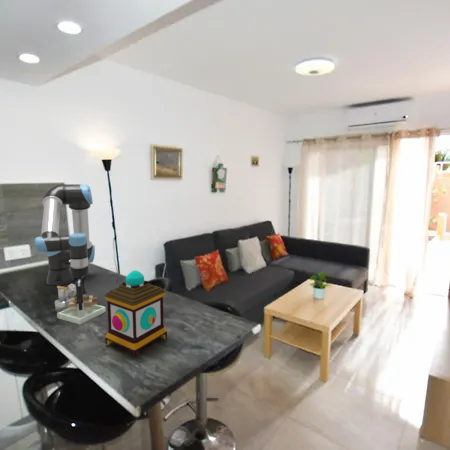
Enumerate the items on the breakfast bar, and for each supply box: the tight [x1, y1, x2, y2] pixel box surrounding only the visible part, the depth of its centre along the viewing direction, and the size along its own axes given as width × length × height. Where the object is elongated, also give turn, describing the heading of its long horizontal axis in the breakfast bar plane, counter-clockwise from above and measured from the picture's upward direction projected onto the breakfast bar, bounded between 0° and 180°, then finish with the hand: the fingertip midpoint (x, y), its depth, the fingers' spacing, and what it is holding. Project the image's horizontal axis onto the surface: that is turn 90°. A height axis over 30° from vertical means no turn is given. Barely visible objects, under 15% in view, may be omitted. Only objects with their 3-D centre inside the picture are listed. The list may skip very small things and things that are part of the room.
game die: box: [65, 282, 77, 298], centre depth 163 cm, size 9×8×10 cm
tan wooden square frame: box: [69, 294, 98, 311], centre depth 142 cm, size 10×12×3 cm
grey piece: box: [54, 285, 71, 313], centre depth 148 cm, size 8×8×12 cm
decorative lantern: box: [103, 269, 168, 359], centre depth 117 cm, size 20×20×30 cm
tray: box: [56, 304, 107, 325], centre depth 143 cm, size 15×15×2 cm
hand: (82, 311), depth 142 cm, fingers closed on tan wooden square frame, 9 cm apart
